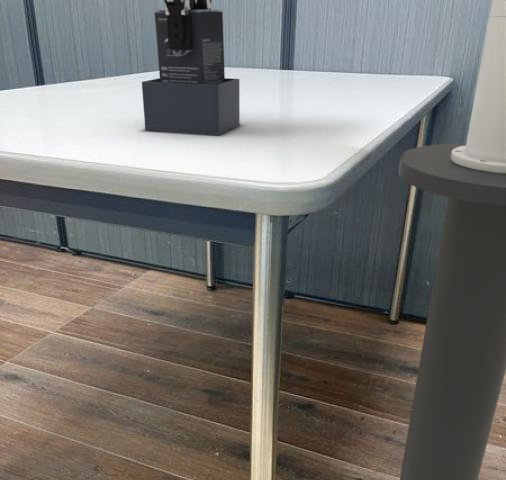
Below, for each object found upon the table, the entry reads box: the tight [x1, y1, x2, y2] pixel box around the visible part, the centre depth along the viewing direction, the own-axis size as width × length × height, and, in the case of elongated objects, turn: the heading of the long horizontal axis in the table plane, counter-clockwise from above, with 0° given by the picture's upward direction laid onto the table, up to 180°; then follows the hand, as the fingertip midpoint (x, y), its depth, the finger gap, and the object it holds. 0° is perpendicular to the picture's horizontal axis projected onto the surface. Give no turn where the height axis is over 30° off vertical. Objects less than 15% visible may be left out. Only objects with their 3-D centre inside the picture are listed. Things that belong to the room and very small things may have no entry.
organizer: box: [141, 77, 241, 136], centre depth 86 cm, size 11×9×6 cm
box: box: [154, 8, 226, 85], centre depth 82 cm, size 8×6×11 cm
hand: (190, 47), depth 82 cm, fingers closed on box, 6 cm apart
